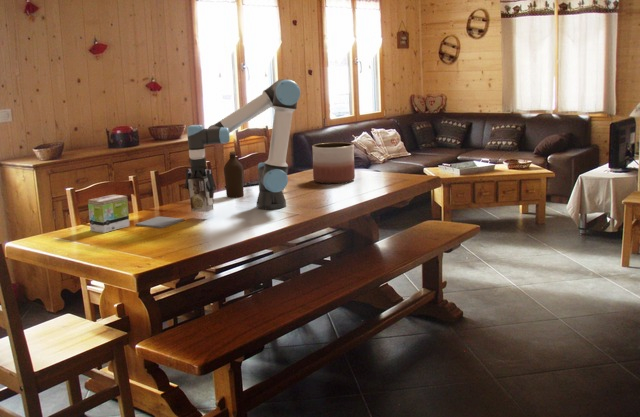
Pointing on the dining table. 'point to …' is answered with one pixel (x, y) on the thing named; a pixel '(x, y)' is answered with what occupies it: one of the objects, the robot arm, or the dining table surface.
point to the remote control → (250, 184)
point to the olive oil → (233, 177)
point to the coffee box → (199, 195)
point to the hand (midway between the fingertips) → (201, 204)
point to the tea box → (108, 213)
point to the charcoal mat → (160, 222)
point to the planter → (333, 163)
